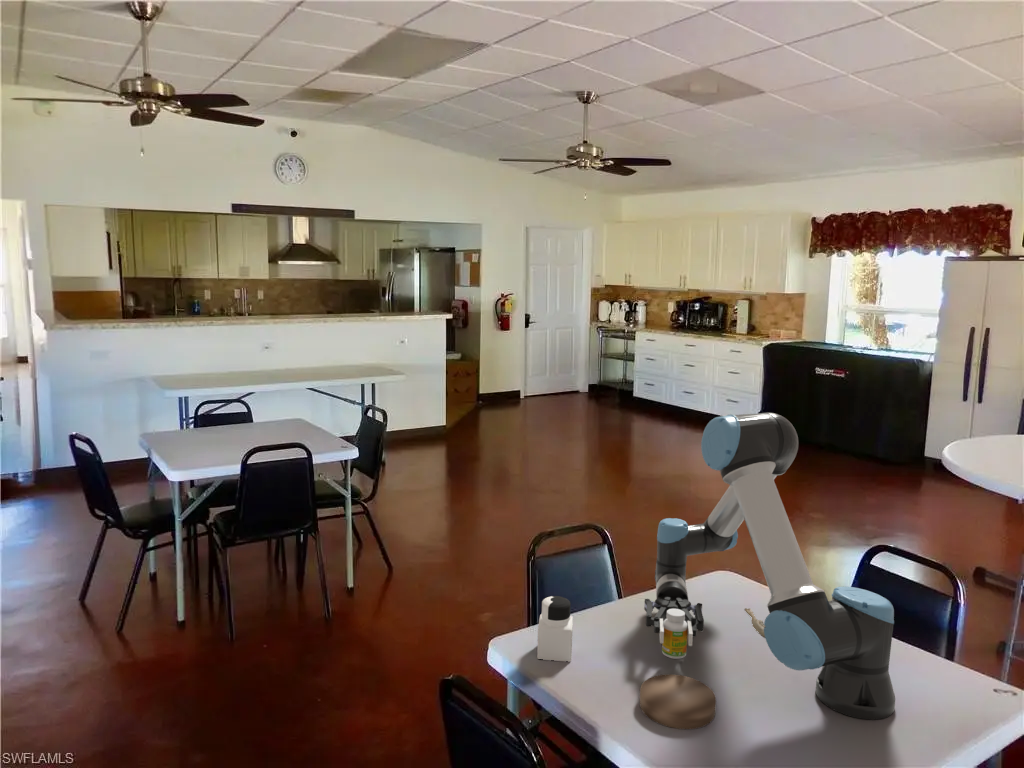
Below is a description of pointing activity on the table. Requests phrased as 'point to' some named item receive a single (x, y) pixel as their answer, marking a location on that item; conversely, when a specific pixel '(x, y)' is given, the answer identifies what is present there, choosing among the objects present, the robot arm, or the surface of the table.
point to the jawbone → (756, 623)
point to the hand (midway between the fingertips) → (676, 638)
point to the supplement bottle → (675, 634)
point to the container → (555, 630)
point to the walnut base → (677, 701)
